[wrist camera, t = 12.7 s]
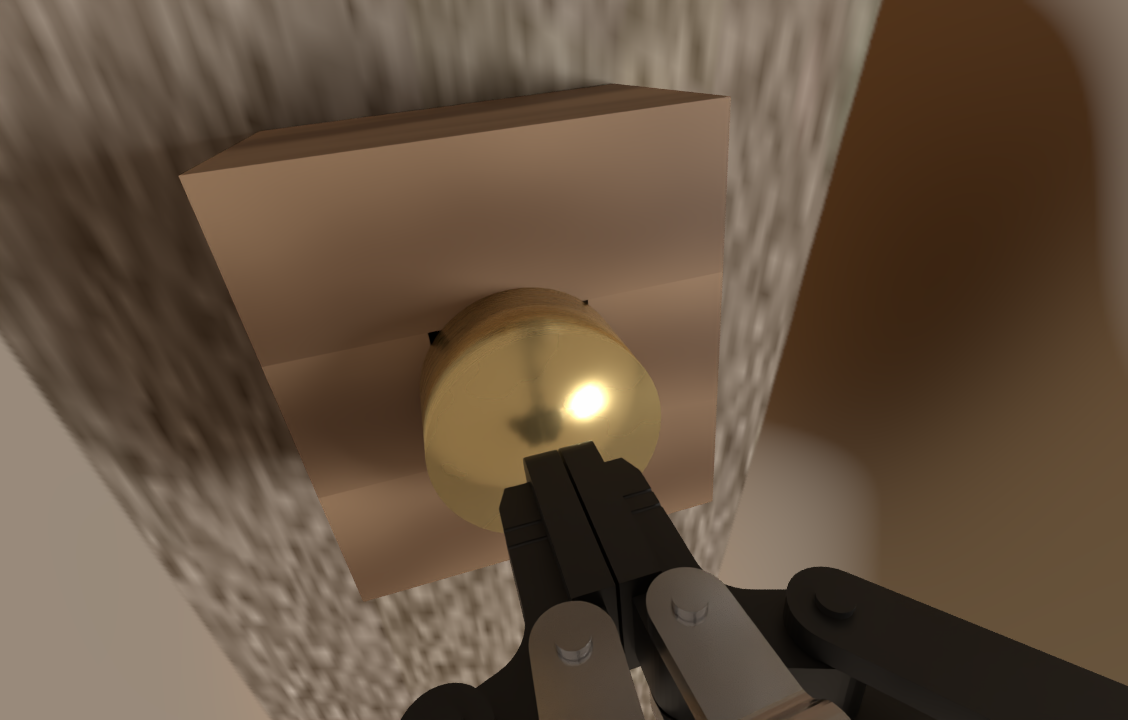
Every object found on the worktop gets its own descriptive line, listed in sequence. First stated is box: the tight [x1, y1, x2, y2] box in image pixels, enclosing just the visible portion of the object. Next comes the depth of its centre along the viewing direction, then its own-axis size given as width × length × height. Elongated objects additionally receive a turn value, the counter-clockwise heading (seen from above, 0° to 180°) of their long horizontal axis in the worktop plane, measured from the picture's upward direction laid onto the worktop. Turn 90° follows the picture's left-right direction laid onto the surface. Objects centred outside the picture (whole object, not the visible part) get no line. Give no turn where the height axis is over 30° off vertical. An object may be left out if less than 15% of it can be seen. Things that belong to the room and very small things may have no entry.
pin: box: [420, 287, 661, 533], centre depth 17 cm, size 6×6×10 cm
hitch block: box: [179, 84, 731, 602], centre depth 19 cm, size 13×12×8 cm
